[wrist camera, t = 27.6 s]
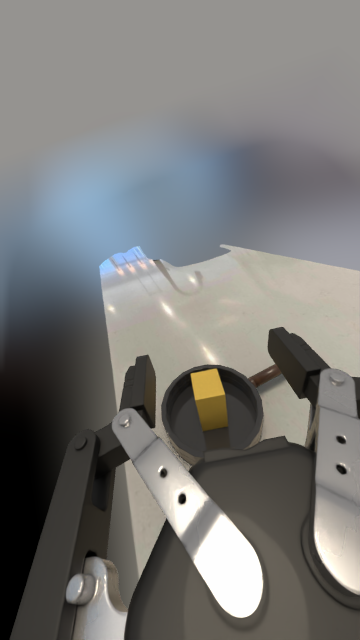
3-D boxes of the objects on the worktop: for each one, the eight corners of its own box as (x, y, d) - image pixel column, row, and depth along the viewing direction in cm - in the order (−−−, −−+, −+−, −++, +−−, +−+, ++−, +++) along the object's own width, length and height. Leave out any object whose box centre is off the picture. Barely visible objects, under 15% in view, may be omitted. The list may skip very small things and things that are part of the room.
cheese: (228, 426, 33) (225, 394, 28) (202, 431, 33) (195, 400, 28) (220, 400, 37) (216, 368, 32) (197, 404, 37) (190, 373, 32)
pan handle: (251, 392, 35) (251, 385, 34) (244, 384, 37) (244, 377, 36) (306, 362, 38) (307, 355, 37) (297, 356, 40) (298, 349, 39)
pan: (191, 496, 27) (185, 485, 25) (155, 401, 40) (150, 388, 38) (285, 436, 31) (288, 421, 28) (224, 367, 44) (223, 353, 42)
